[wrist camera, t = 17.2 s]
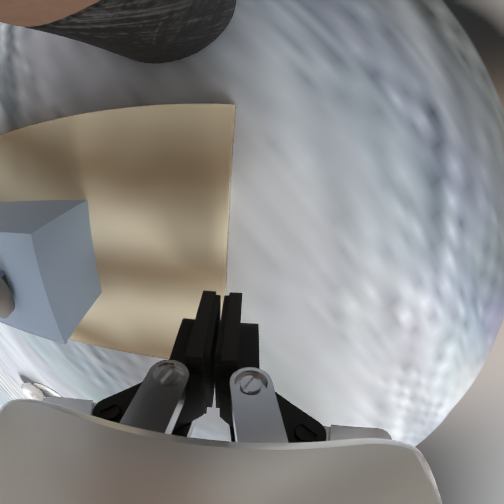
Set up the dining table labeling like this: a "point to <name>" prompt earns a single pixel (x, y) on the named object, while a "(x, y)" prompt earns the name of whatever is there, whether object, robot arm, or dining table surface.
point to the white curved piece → (36, 391)
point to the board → (135, 211)
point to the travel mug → (127, 24)
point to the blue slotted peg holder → (48, 265)
